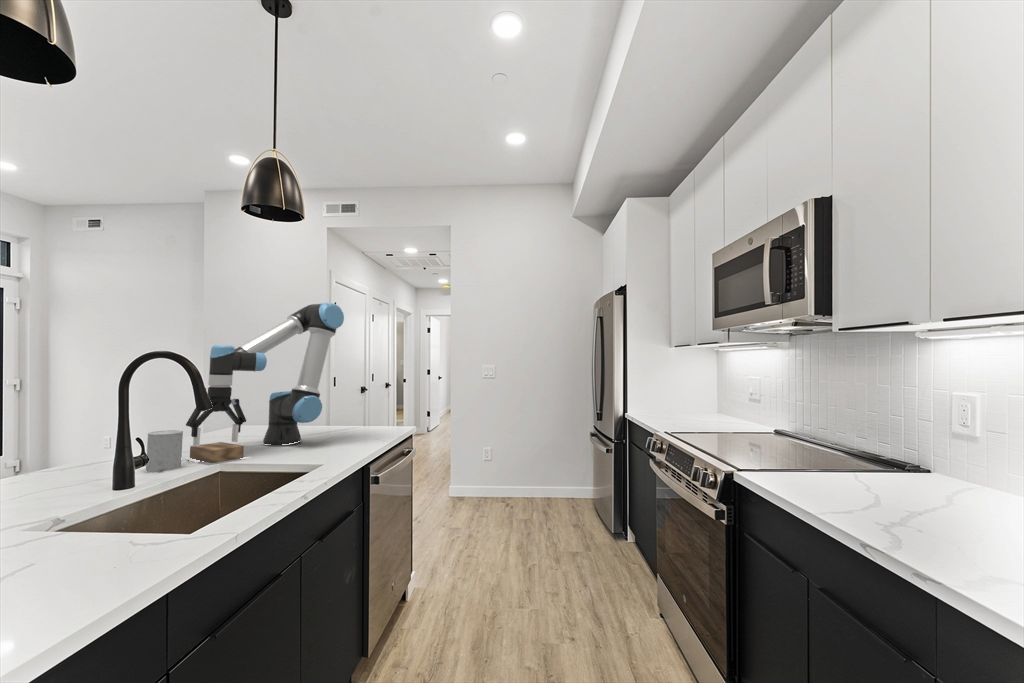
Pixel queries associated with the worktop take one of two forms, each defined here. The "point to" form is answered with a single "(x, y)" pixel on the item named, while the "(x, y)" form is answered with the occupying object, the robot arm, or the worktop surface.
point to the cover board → (216, 452)
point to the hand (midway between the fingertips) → (216, 443)
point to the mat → (217, 462)
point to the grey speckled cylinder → (164, 450)
